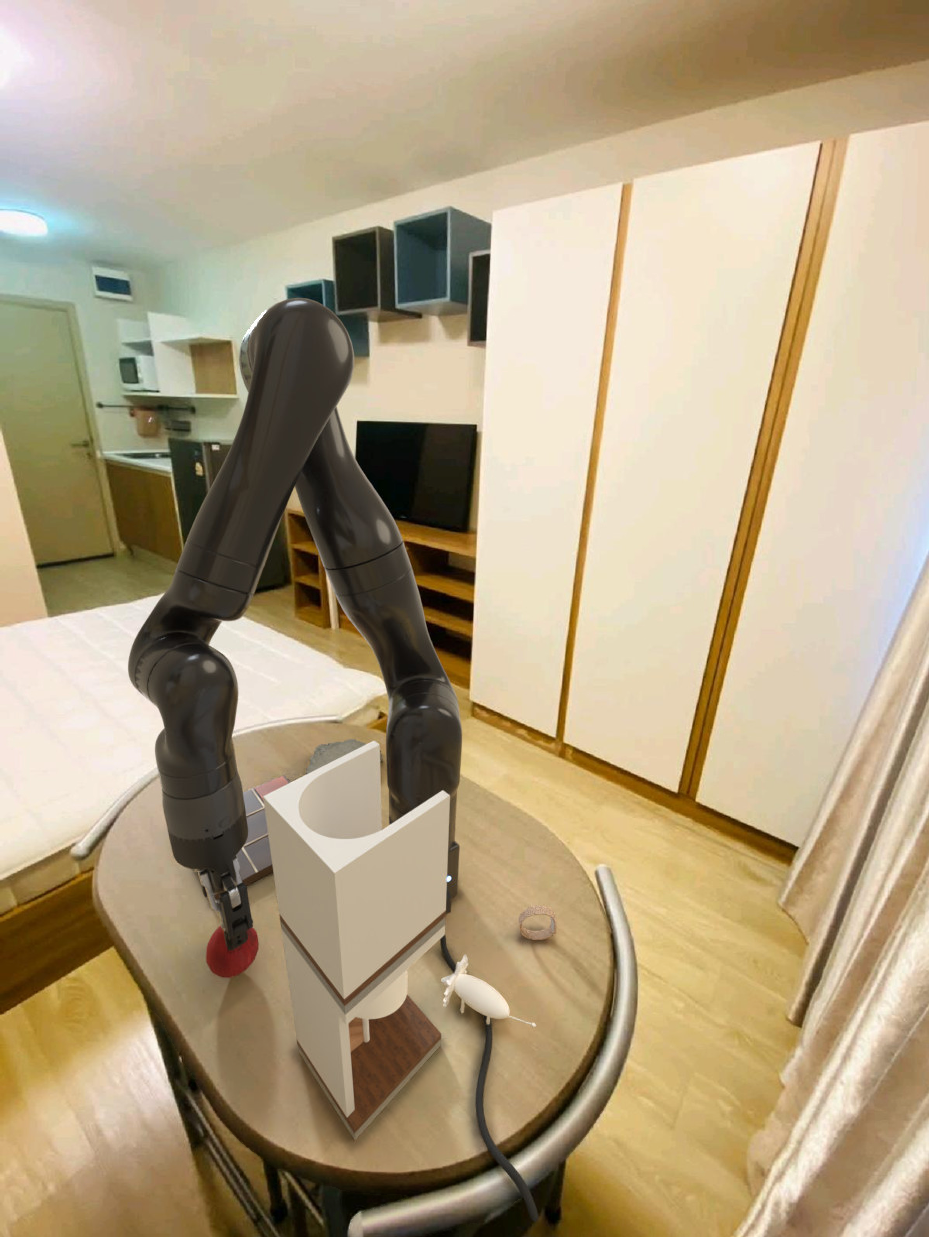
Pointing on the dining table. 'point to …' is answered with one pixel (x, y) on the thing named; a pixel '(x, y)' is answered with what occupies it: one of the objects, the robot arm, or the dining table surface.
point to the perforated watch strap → (541, 934)
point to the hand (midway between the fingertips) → (225, 916)
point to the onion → (230, 954)
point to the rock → (332, 753)
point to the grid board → (256, 834)
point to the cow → (476, 994)
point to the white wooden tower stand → (357, 927)
